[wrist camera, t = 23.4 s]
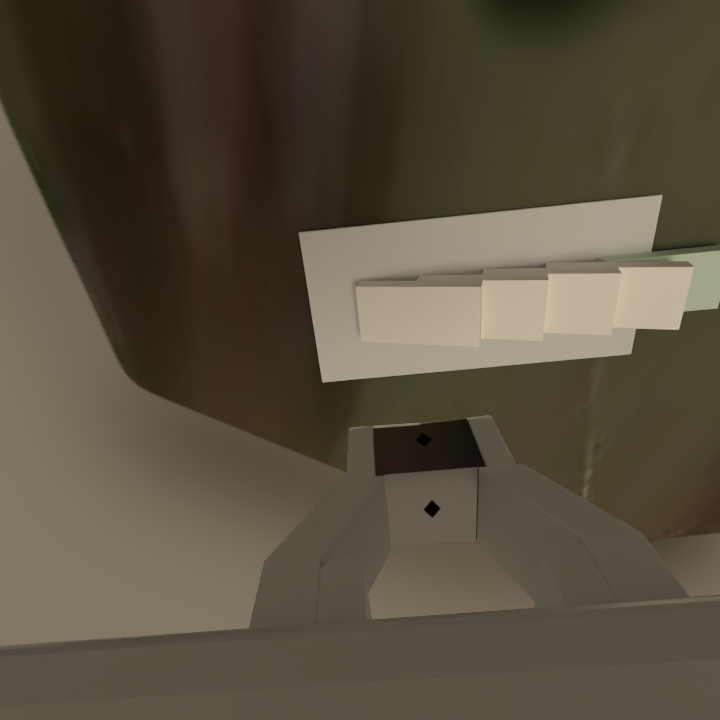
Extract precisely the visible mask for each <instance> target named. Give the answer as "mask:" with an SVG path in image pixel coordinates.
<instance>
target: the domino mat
mask: <svg viewBox="0 0 720 720" xmlns="http://www.w3.org/2000/svg"><path fill="white" fill-rule="evenodd" d="M661 200H662V195H660V194H659V195H649V196H639V197H630V198H620V199H611V200H601V201H591V202H582V203H572V204H563V205H553V206H544V207H534V208H524V209H515V210H505V211H496V212H486V213H476V214H467V215H457V216H448V217H438V218H429V219H419V220H409V221H400V222H390V223H381V224H371V225H361V226H352V227H342V228H333V229H323V230H314V231H304V232H299V238H300V244H301V251H302V257H303V263H304V269H305V276H306V282H307V288H308V295H309V301H310V307H311V314H312V320H313V326H314V333H315V339H316V345H317V352H318V358H319V364H320V371H321V377H322V382H332V381H342V380H353V379H364V378H375V377H386V376H397V375H408V374H419V373H430V372H441V371H451V370H462V369H473V368H484V367H495V366H506V365H517V364H528V363H539V362H550V361H561V360H571V359H582V358H593V357H604V356H615V355H626V354H631V351H632V346H633V341H634V336H635V331H636V328H612V334H611V335H589V334H562V333H543V341H530V340H502V339H481V341H480V346H479V347H467V346H444V345H422V344H399V343H376V342H361V335H360V325H359V316H358V306H357V297H356V286H357V285H358V284H359V283H360V282H361V281H417V279H418V278H419V276H420V275H482V273H483V270H484V269H507V268H546V263H565V262H596V261H597V257H603V256H613V255H623V254H633V253H643V252H651V251H652V246H653V240H654V235H655V230H656V225H657V220H658V215H659V210H660V205H661Z"/></svg>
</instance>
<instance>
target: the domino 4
mask: <svg viewBox="0 0 720 720" xmlns="http://www.w3.org/2000/svg"><path fill="white" fill-rule="evenodd" d="M546 268H619V270H620V271H621V273H622V276H621V282H620V288H619V293H618V299H617V305H616V311H615V316H614V322H613V328H641V329H670V330H679V327H680V323H681V319H682V315H683V311H684V307H685V303H686V299H687V295H688V291H689V287H690V283H691V279H692V275H693V271H694V266H693V265H692V264H690V263H689V262H688V261H665V262H565V263H546Z"/></svg>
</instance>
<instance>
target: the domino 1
mask: <svg viewBox="0 0 720 720" xmlns="http://www.w3.org/2000/svg"><path fill="white" fill-rule="evenodd" d="M482 282H483V281H361V282H360V283H359V284H358V285H357V286H356V297H357V306H358V316H359V325H360V335H361V342H376V343H399V344H422V345H444V346H467V347H479V346H480V341H481V316H482Z"/></svg>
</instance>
